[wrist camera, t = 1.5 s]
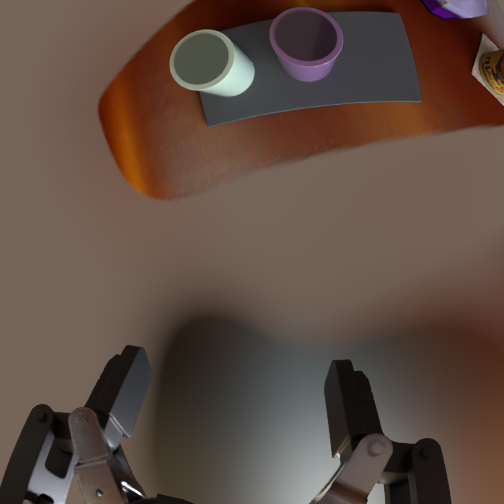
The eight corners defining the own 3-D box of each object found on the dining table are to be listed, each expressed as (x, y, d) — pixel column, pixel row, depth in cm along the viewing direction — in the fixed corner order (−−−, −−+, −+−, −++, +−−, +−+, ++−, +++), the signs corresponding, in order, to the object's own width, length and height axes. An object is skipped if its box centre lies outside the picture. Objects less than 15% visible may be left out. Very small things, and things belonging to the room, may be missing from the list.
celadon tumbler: (199, 58, 26) (163, 43, 18) (248, 45, 24) (226, 20, 16) (210, 102, 28) (175, 98, 20) (259, 90, 27) (241, 79, 19)
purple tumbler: (274, 39, 23) (261, 12, 15) (326, 33, 22) (332, 3, 14) (285, 85, 26) (277, 71, 18) (338, 79, 24) (351, 63, 16)
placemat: (189, 42, 25) (188, 41, 25) (398, 14, 18) (399, 13, 18) (209, 127, 30) (207, 127, 30) (420, 102, 23) (422, 101, 23)
